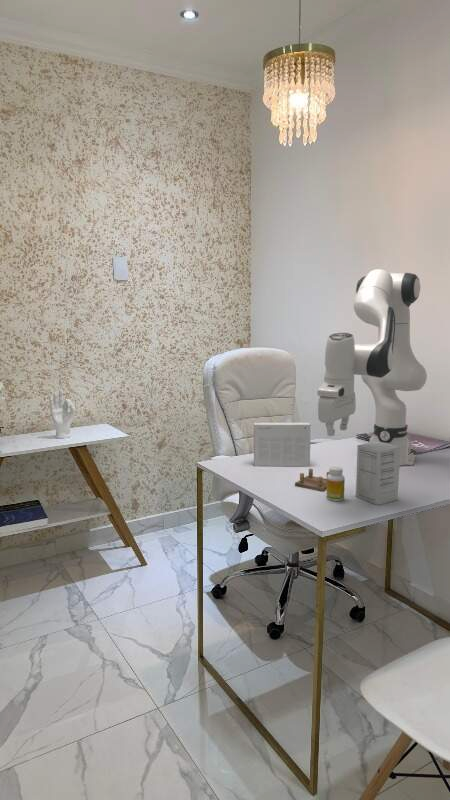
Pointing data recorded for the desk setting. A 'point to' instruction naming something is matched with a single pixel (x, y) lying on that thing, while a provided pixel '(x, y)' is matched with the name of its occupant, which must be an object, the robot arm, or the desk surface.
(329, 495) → the supplement bottle
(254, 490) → the desk surface
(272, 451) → the skincare box
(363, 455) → the supplement box
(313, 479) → the pin stand
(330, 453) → the desk surface
